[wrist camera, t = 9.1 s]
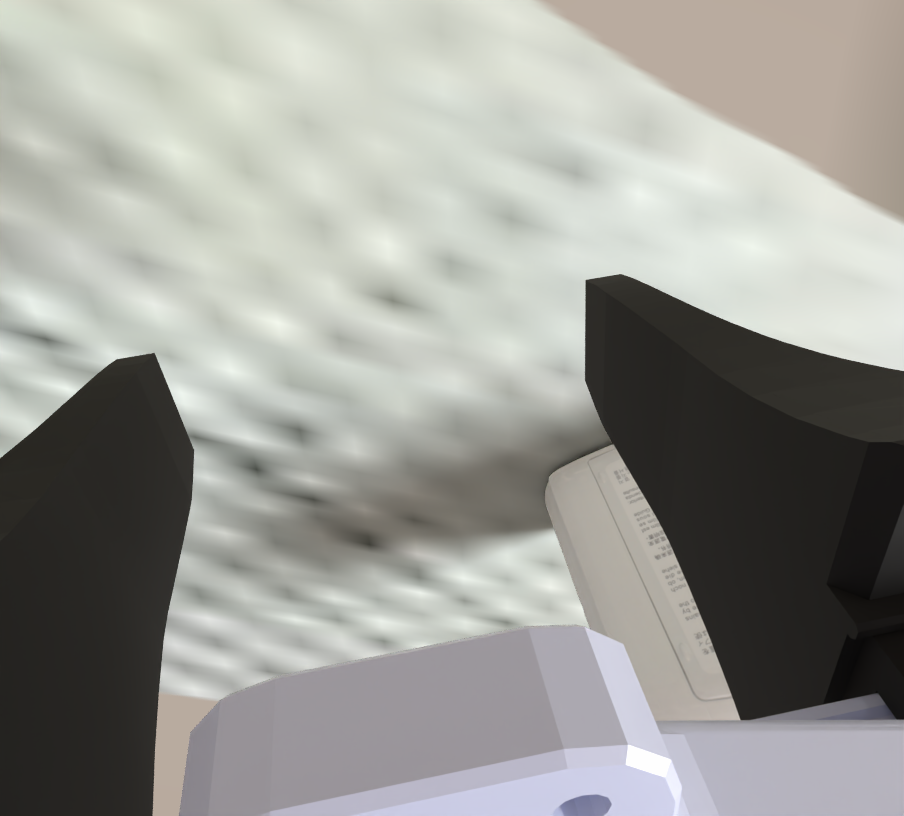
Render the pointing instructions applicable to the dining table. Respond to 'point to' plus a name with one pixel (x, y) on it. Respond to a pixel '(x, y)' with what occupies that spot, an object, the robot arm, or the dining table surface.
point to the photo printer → (636, 587)
